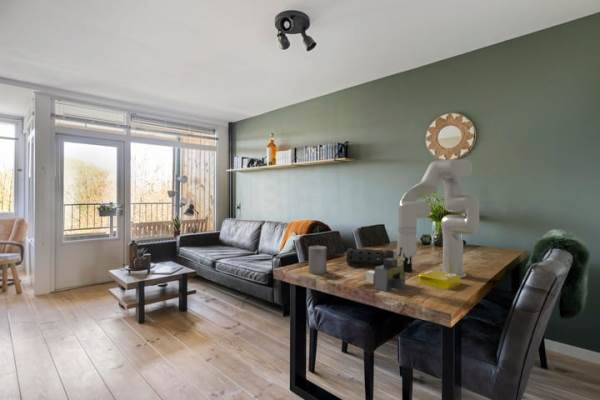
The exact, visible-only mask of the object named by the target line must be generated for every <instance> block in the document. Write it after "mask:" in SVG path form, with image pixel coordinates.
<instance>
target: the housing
mask: <svg viewBox="0 0 600 400" xmlns="http://www.w3.org/2000/svg"><path fill="white" fill-rule="evenodd" d="M374 271H375V284H374V289H375V290H379V291H383V292H389V291H392V290H393V289H394V288H393V278H398V279H403V280H405V281H406V272H404V271H403V262H401V263H400V262H398V258H397V259H394V258H387V259H384V265H382V266H374Z"/></svg>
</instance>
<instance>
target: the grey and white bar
mask: <svg viewBox="0 0 600 400" xmlns="http://www.w3.org/2000/svg"><path fill="white" fill-rule="evenodd" d="M365 282H366V283H369V284H374V285H375V270H368V271H366V273H365ZM393 289H395V290H398V291H403V290H406V279H405V280H403V279H398V278H393Z"/></svg>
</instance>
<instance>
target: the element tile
mask: <svg viewBox="0 0 600 400" xmlns="http://www.w3.org/2000/svg"><path fill="white" fill-rule="evenodd" d="M440 271H441V270H435V269H431V270H428V271H425V272H422V273H418V276H417V277H418V281H417V283H418V284H420V285H426V286H430V287H435V288H437V289H438V288H439V289H443V290H453V289H454V288H456V287H457V286H460V285H461V283H462V281H461V279H462V278H461V276H460V275H456V274H451V273H446V272H440Z"/></svg>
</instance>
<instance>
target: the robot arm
mask: <svg viewBox="0 0 600 400" xmlns="http://www.w3.org/2000/svg"><path fill="white" fill-rule="evenodd" d="M472 171H473V164H472V163H471V161H470V160H469V159H465V158H464V159H443V160H435V161H432V162H431V163H430V164H429V165H428V167H427V169H426V170H425V172H424V175H423V176H422V178H421V180H420V182H419V183H416V184H415V185H414V186H413V187H410V188H409V190H407V191H406V192H405V193H404V194H403V195H402V198H401V200H400V202H399V203H398V205H397V206H398V207H397V209H398V210H397V211H398V216H397V217H398V220H397V221H398V226H397V227H398V228H397V230H398V235H397V243H396V252H397V257H400V261H402V264H403V271H404V272H405V273H408V274H410V273H412V272H413V260H414V258H415V255H417V253H418V252H417V251H418V245H417V234H418V233H417V231H418V230H417V224H418V223H417V219H426V218H428V217H429V216H430V215H431V213H432V206H431V205H430V204H429V203H428V202H427V201H418V200H419V199H421V198H425V197H427V196H430V195H433V194H435V193H436V192H438V190H439V188H440V186H441V184H442V183H443V186H444V189H443V190H444V194H443V195H444V200H443V201H444V208H445V210H446V211H447V212H450V213H459V214H447V215H444V216H443V217H442V218H441V220H440V221H441V222H440V224H441V225H440V226H441V231H442V270H439V271H440V272H446V273H451V274H456V275H460V276H461V279H463V278H466V277H467V274H466V273H465V272H464V271H463V269H464V241H463V238H462V236H461V235H471V236H472V235H476V234H478V232H479V229H480V202H479V198H478V197H477V196H476V195H475V194H472V193H471V194H470V193H464V191H463V187H464V186H463V182H462V181H461V180H460V178H464V177H465V178H467V177H469V176H470V175H471V173H472ZM460 213H461V215H460ZM462 213H463V214H465V215H462Z"/></svg>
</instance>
